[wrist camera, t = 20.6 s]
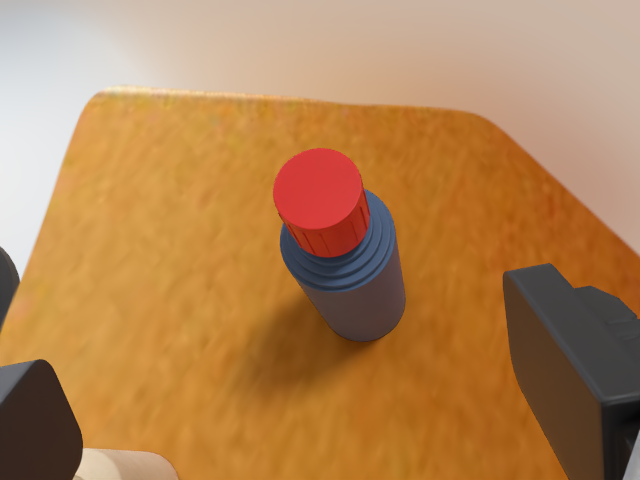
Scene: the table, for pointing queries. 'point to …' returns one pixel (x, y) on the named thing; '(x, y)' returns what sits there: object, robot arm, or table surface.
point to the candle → (123, 466)
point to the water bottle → (354, 279)
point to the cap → (322, 202)
